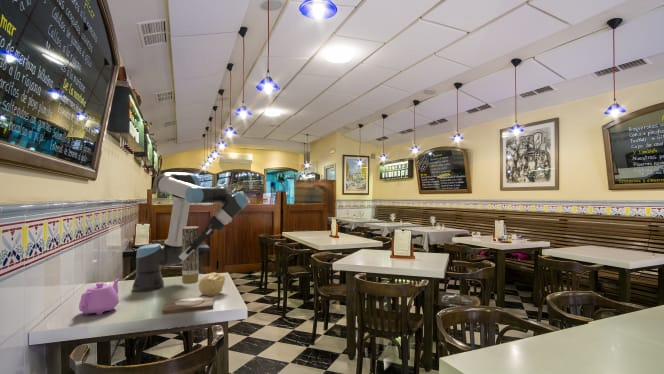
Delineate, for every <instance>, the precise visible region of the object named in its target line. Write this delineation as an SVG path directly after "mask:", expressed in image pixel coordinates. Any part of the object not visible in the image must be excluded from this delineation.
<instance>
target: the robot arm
mask: <svg viewBox="0 0 664 374" xmlns="http://www.w3.org/2000/svg"><path fill="white" fill-rule="evenodd" d="M154 187H155V189H156V190H157V191H158V192H160V193H162V194H165V195H169V194H170V195H171V197H172V198H173V202H172V209H171V215H170V216H171V217H170V223H169V229H168V236H167V238H166V239H165V240H164V243H163V245H161V243H153V244H152V243H149V244H145V245H143V246H140V247H138V248H137V250H136V254H135V255H136V256H135V258H136V259H135V260H136V262H135V263H136V273H135V277H134V280H133V284H132V291H133V292H139V293H140V292H142V293H143V292H152V291H157V290H161V289H163V288H164V287H165V282H164V279H163V276H162V272H161V270H162V269H161V268H164V267H168V266H174V265H176V266H177V265H180V264H181V265H182V260H183V261H184V260H185V259H186V258H187V257H188V256H189V255H190V254H191V253H192V252H193V251H194V250H195V249H196V248H197V247H198V246H200V245H201V244H202V243H203V242H204V241H205V240H207V239H208V238H209V237H210V236H211V235H213V234H214V233H215V232H214V230H217V231H218V232H221V231H222V230H223V229H224V228H225V227H226V225H228V224H229V223H232V222H233V221H232V220H233V219H234V218H235V217H236V216H237V215H238V214H239V213H240V212H241V211H242V210H244V208H245V207H246V206H247V205H248V204H249V200H248V198H246V197H245V195H244V194H242V193H241V192H240V191H237V192H236V193H235V192H233V191H232V190H231V189H230V188H229V187H227V186H226V185H225V184H223V183H222V184H221V183H219V184H217V185H215V186H214V187H213V186H212V187H210V186H209V187H208V186H207V187H206V186H201V183H200V179H199V177H198V176H197V175H196V174H195V173H190V172H171V171H170V172H169V171H168V172H163V173H161V174H159V175H158V176H157V177H156V178H155V180H154ZM191 204H195V205H197V204H221V205H222V206H221V207H220V208H219V209H218V210H217V211H215V213H214V215H211V217H210V218H209V219H208V220H207V222H208V223H209V224H210V226H208V225H207V226H206V227H205V228H204V229H203V231H202V232H201V233H200V235H199V238H198V239H197V240H196V241H195V242H194V243H193V244H189V245H190V246H189V247H188V248H187V249H186V250H185V251H184V252H183V253H182V228H183V227H187V225H188V217H189V213H190V212H189V210H190V206H191Z"/></svg>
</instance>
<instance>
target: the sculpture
mask: <svg viewBox="0 0 664 374" xmlns="http://www.w3.org/2000/svg"><path fill="white" fill-rule="evenodd" d="M225 280H226V277H225V275H223V274H221V273H218V272H210V273H207V274H205V275H204V276H202V277H201V278H200V281H198V282H199V283H198V290H199V292H200V294H201V295H202V296H203V295H204V296H217V295H219V294H220V293H221V292H222V291H223V287H224V284H225V282H226V281H225Z"/></svg>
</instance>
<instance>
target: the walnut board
mask: <svg viewBox="0 0 664 374" xmlns="http://www.w3.org/2000/svg"><path fill="white" fill-rule="evenodd" d="M214 296H215V295H214ZM214 296H209V295H204V296H196V297H185V298H176V299H175V298H174V299H167V301H166V302H165V304H164V306H163V308H162V312H161V313H162V315H165V314H174V313H176V314H177V313H184V312H193V311H194V312H195V311H202V310H212V309H214V300H215V299H214Z"/></svg>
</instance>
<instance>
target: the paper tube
mask: <svg viewBox="0 0 664 374" xmlns="http://www.w3.org/2000/svg"><path fill="white" fill-rule="evenodd" d="M199 228H200V227H199V226H198V225H197V226H196V225H195V226H191V225H190V226H186V227H183V228H182V253H183V252H184V251H185V250H186V249H187V248H188V247H189V246H190V245H189V244H193V243H194V242H195V241H196V240H197V239H198V238H199V236H200V235H199V233H200V232H199ZM199 246H200V245H199ZM199 246H198V247H197V248H196V249H195V250H194V251H193V252H192V253H191V254H190V255H189V256H188V257H187V258H186V259H185V260H184V261H183V260H182V263H181V265H182V266H181V268H182V270H181V272H182V273H181V274H182V275H181V277H182V278H181V279H182V281H181V282H182V284H184V285H190V284H196V283H198V282H199V274H200V273H199V267H200V266H199V264H200V263H199V262H200V261H199V258H200V257H199V253H200V251H199Z"/></svg>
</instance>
